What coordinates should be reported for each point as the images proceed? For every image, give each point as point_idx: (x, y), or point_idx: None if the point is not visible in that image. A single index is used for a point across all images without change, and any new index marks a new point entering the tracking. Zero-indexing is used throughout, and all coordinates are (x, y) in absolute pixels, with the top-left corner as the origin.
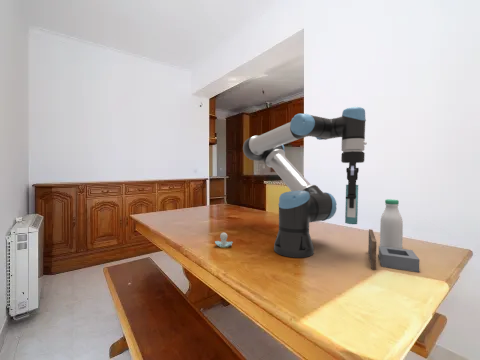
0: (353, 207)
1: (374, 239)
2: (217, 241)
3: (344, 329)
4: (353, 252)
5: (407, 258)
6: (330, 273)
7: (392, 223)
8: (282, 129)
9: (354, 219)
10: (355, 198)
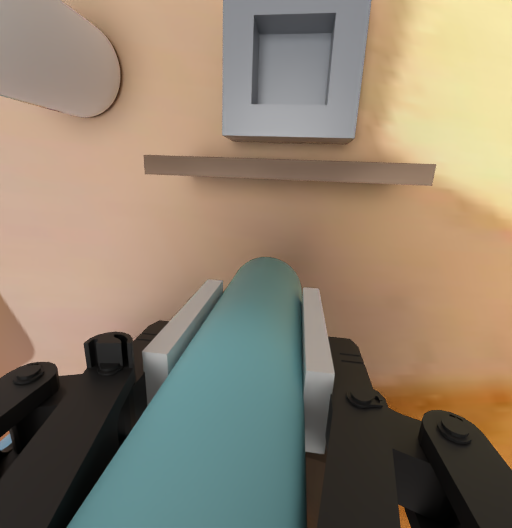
0: (354, 345)
1: (387, 169)
2: None
3: None
4: (220, 231)
5: (367, 28)
6: (471, 312)
7: (11, 8)
8: None
9: (297, 286)
10: (377, 392)
